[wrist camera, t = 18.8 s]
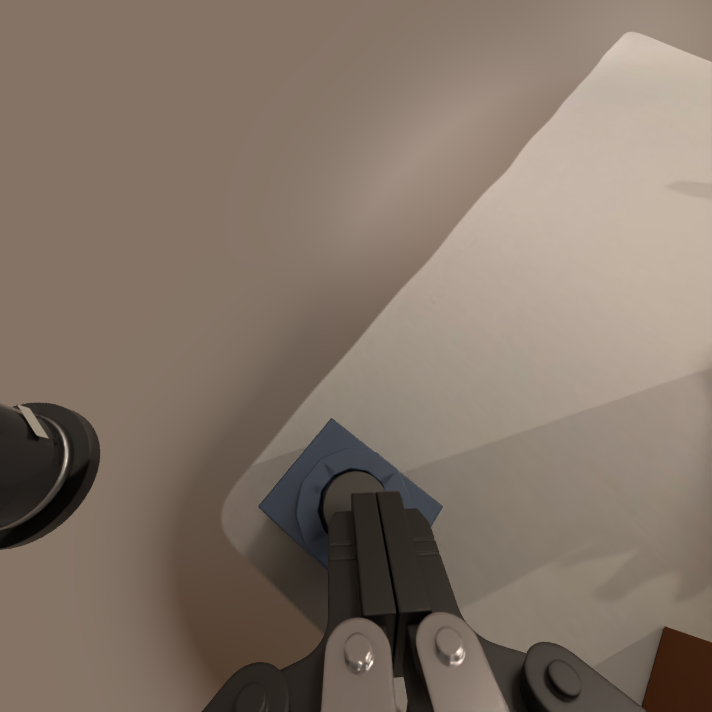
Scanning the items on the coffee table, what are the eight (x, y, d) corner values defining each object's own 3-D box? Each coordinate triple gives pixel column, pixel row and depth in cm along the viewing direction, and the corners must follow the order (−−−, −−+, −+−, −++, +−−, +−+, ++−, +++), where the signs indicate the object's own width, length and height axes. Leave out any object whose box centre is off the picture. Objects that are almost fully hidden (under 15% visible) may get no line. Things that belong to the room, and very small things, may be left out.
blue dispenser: (417, 507, 28) (453, 505, 19) (365, 590, 25) (382, 627, 17) (331, 437, 29) (331, 409, 21) (274, 508, 27) (250, 506, 19)
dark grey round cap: (394, 500, 20) (401, 499, 18) (359, 554, 19) (362, 559, 17) (348, 462, 20) (350, 457, 19) (311, 512, 19) (309, 512, 17)
